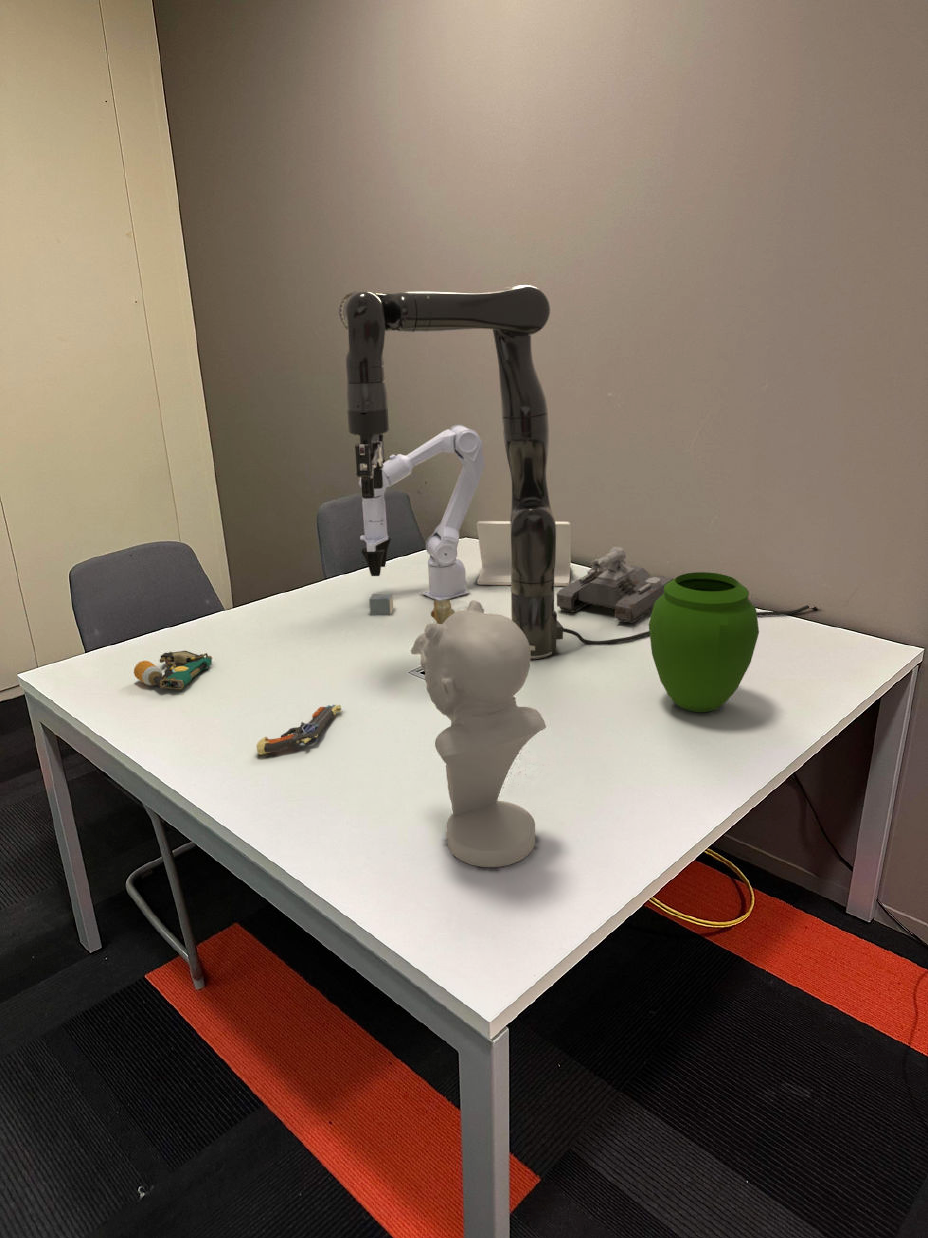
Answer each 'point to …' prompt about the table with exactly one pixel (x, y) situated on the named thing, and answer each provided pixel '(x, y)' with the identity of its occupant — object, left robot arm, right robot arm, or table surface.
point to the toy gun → (299, 731)
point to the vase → (702, 638)
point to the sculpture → (441, 611)
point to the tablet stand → (498, 553)
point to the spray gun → (172, 669)
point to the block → (381, 604)
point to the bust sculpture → (481, 729)
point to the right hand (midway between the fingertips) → (373, 493)
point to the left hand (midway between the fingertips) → (378, 571)
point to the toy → (614, 588)
